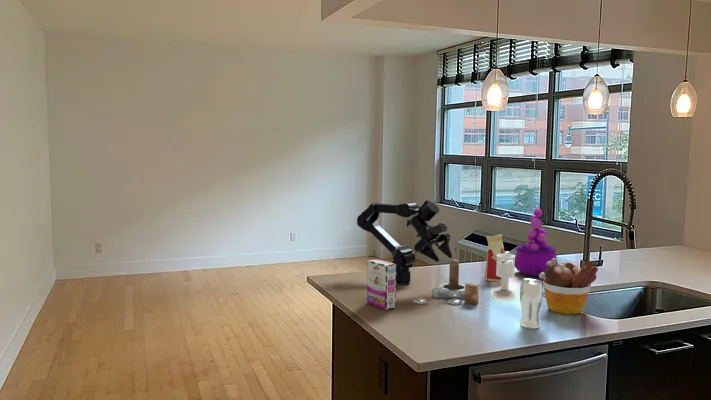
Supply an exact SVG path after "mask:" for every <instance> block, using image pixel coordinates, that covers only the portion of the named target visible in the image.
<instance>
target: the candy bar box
mask: <svg viewBox="0 0 711 400" xmlns="http://www.w3.org/2000/svg"><path fill="white" fill-rule="evenodd" d="M366 280H367V285H366V286H367V290H366V292H367V295H366V296H367V297H366V302H367V304H368V305H371V306H374V307H377V308H379V309H382V310H384V311H390V310H393V309H396V305H397V304H396V303H397V301H396V299H397V284H396V264H394V263H392V262H390V261H386V260H382V259H379V258H378V259H377V258H375V259H370V260H369V259H368V260H367V279H366Z"/></svg>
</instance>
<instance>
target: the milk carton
mask: <svg viewBox="0 0 711 400" xmlns="http://www.w3.org/2000/svg"><path fill="white" fill-rule="evenodd" d="M485 238H486V240H487V244H488V245H487V255H486V264H485V269H484V277H483V279H484V280H485V281H490V282H500V283H501V277H498V276H496V265H497V254H505V252H506V251H505V247H504V242H503V233H501V234H496V235H492V236H491V235H490V236H489V235H488V236H485ZM499 260H501V259H499ZM505 262H507V261H504V262H502V261H501V263H505ZM498 263H499V262H498Z"/></svg>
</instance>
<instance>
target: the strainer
mask: <svg viewBox="0 0 711 400" xmlns="http://www.w3.org/2000/svg"><path fill="white" fill-rule="evenodd" d="M515 256H516V255H515V254H510V251H508V250H507V251H505V254H497V265H496V276H498V277H501V282H500V290H503V291H508V290H510V288H509V285H510V284H509V282H510V279H511V278H514V277H515ZM499 259H501V260H499ZM501 261H502V262H504V261H506V262H505V263H501ZM498 262H499V263H498Z"/></svg>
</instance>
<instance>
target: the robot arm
mask: <svg viewBox="0 0 711 400" xmlns="http://www.w3.org/2000/svg"><path fill="white" fill-rule="evenodd" d="M439 212H440V208H439V206H438V205H436V204H435V203H434V202H431V200H430V199H427V200H425V201H424V202H423V204H421V205H419V204H418V203H416V202H408V203H401V204H400V203H399V204H395V203H380V202H373V203H371V204H370V205H369V206H368V207H367V208H366V209H365V210H363V211H362V212H361V214H359V215H358V216H357V218H356V225H357V226H358V227H359V228H360V229H362V230H363V231H365V232H368V233H370V234H372V235H373V237H375V238H376V240H378V241H379V242H380V243H381V245H382V246H384V247H385V248H386V249H387V250H388V251H389V252H390V253H391V255H392V259H393V260H392V261H391V263H394V264H396V285H409V284H410V282H411V277H412V275H411V270H410V269H411V268H413V265H414V263H415V262H416V254H415V253H414V251H415V252H416V253H419V254H421V255H424V256H425V257H428V258H429V259H431V260H432V261H435V262H437V263H439V262H440V258H439V257H438V255H437V253H436V252H435V249H434V248H433V245H435V246H436V247H437V249H438V250H439V251H440V252H442V253H443V254H444V255H446V257H447V258H449V259H452V258H453V255H452V252H451V249H450V245H449V244H450V241H451V239H452V236H451V235H450V234H449V233H445V232H447V231H448V225H447V224H446V223H445V221H441V222H439V223H438V224H437V225H429V223H428V222H431V221H432V219H434V218H435V217H436V216H437V214H439ZM381 213H382V214H395V215H397V216H399V217H402V218H410V219H407V220H406V221H407V222H406V227H407V228H408V227H413V229H414V231H415V232H416V234H415V235H416V237H417V238H420V239H418V241H417V242H416V243H415V244H414V248H413V249H414V250H413V249H411V248H410V247H409V245H406V244H405V245H400V244H399V243H398V242H397V241H396V240H395V238H393V237H392V236H391V235H390V234H389V233H388V232H387V231H385V229H383V227H381V225H380V223H379V217H380V214H381ZM443 232H444V233H443Z"/></svg>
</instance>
